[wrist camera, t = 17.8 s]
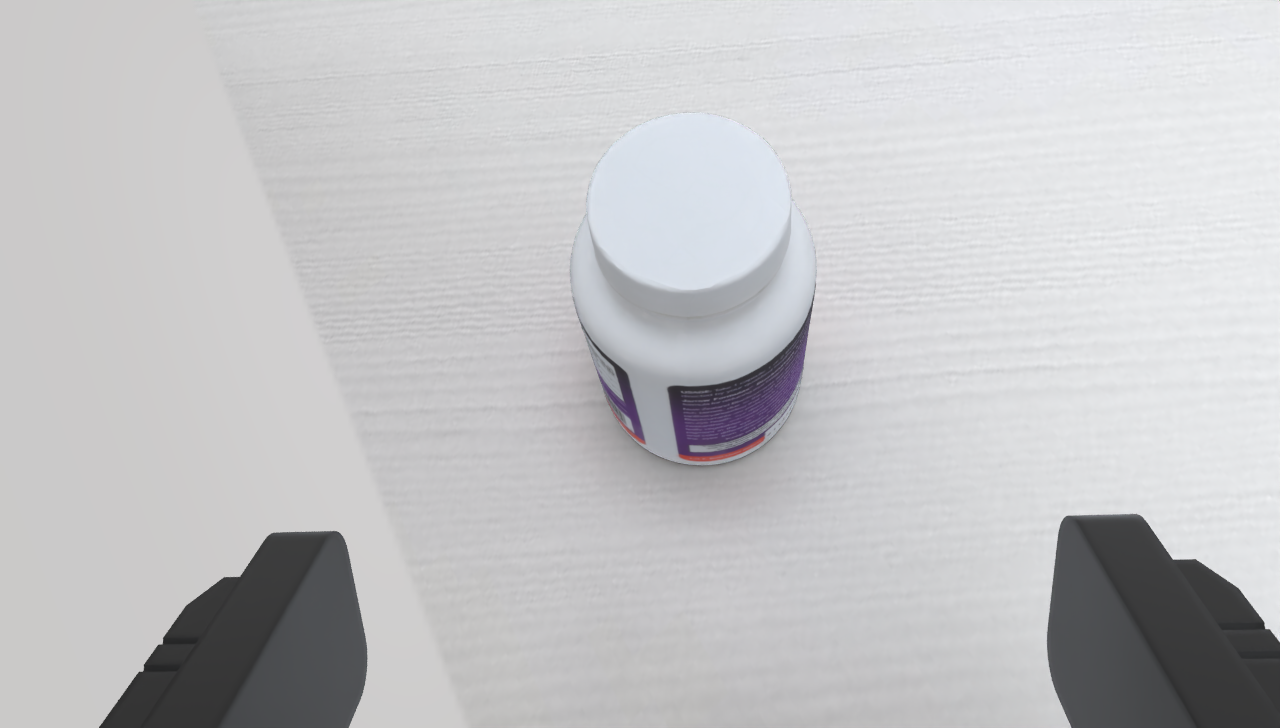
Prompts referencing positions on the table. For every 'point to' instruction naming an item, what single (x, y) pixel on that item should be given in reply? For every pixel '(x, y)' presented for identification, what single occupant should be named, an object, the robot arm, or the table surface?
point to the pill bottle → (695, 287)
